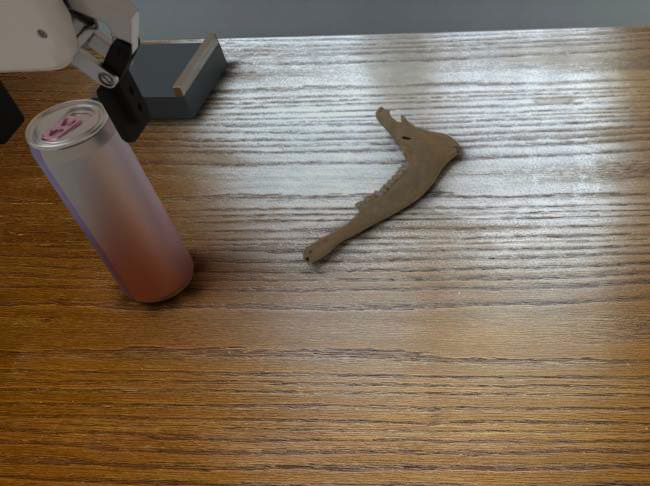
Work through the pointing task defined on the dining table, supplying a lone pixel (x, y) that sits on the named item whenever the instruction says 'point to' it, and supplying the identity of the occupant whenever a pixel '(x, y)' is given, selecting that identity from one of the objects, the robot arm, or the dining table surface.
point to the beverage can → (110, 199)
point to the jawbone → (395, 180)
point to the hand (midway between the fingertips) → (74, 131)
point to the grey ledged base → (177, 76)
